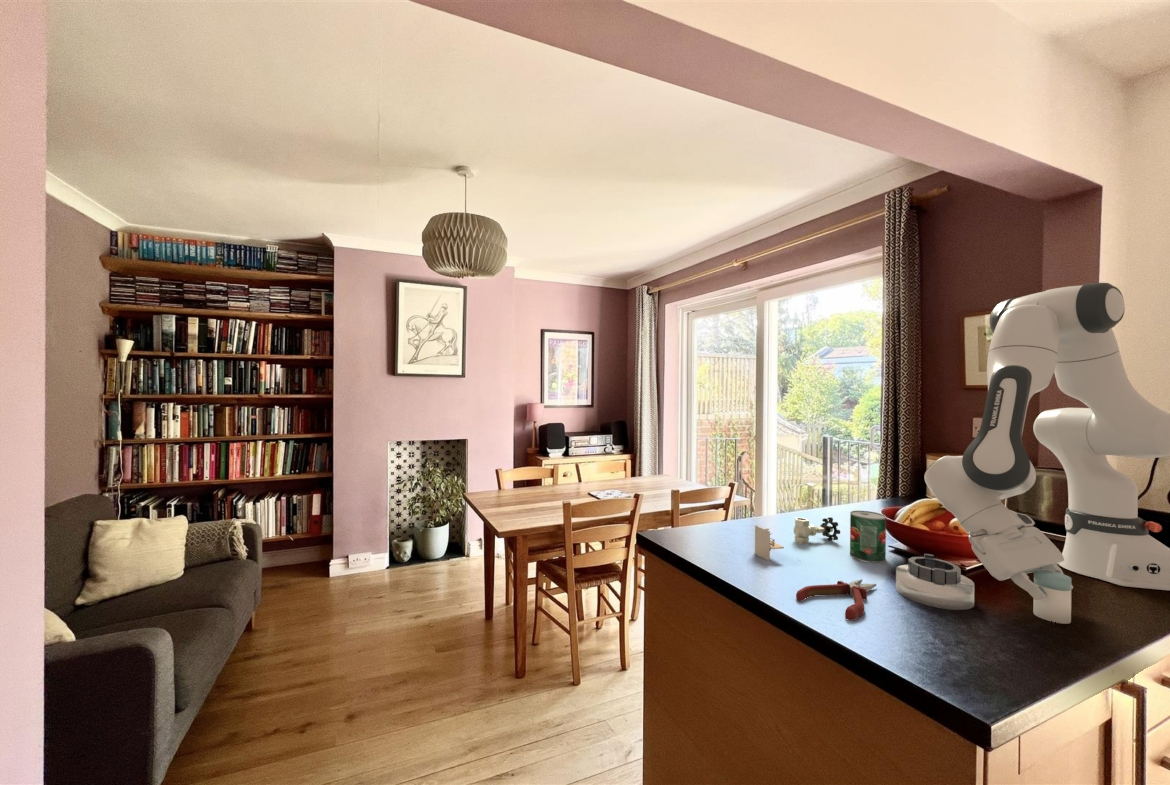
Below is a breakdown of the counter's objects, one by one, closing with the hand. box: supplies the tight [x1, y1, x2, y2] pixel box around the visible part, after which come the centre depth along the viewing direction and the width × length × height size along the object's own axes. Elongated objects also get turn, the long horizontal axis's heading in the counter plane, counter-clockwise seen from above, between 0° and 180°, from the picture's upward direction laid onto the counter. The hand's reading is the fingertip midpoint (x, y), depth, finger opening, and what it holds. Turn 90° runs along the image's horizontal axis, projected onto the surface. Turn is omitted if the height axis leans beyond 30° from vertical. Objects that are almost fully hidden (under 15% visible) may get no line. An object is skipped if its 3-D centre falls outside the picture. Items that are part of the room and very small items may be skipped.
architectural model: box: [754, 525, 785, 562], centre depth 118 cm, size 3×7×7 cm, turn 16°
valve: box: [793, 517, 841, 545], centre depth 131 cm, size 7×7×12 cm
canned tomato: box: [849, 510, 887, 564], centre depth 119 cm, size 8×8×11 cm
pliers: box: [795, 578, 877, 621], centre depth 95 cm, size 12×20×3 cm, turn 126°
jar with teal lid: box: [1032, 570, 1072, 625], centre depth 88 cm, size 5×5×8 cm
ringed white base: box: [895, 553, 975, 611], centre depth 98 cm, size 13×16×7 cm
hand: (1055, 594), depth 87 cm, fingers open, 8 cm apart
